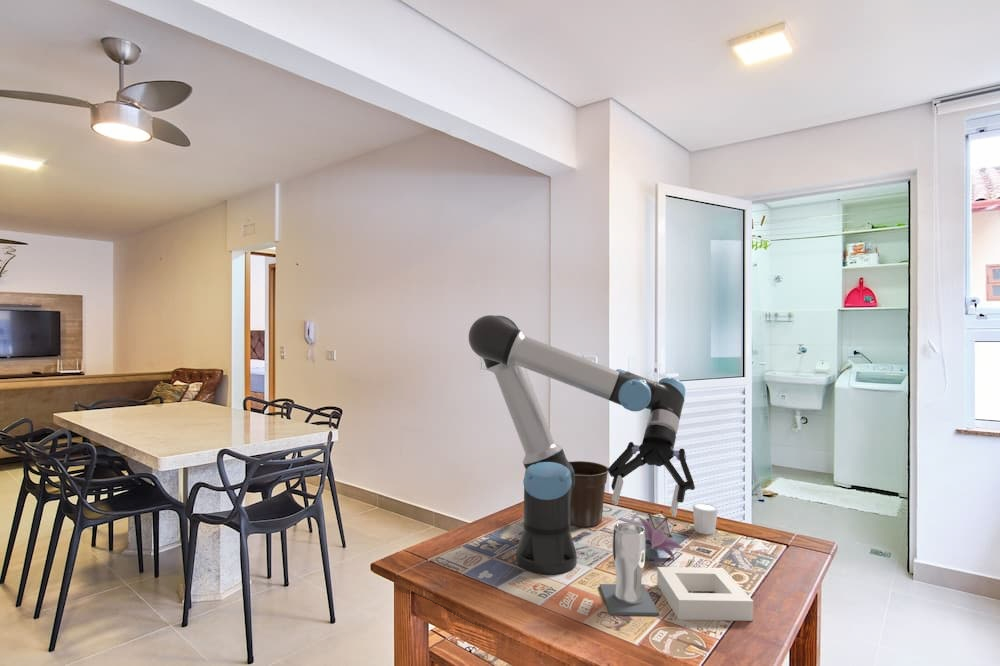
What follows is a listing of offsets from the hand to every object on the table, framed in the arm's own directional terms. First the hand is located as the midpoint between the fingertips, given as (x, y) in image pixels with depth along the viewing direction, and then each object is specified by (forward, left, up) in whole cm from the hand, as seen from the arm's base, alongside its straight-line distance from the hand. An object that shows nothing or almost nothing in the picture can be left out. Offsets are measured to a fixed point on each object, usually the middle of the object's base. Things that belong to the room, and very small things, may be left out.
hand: (642, 508), depth 124 cm
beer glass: (-5, -8, -17) cm, 19 cm away
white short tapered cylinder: (+27, +33, -18) cm, 46 cm away
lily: (+8, +14, -18) cm, 24 cm away
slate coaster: (-5, -8, -17) cm, 20 cm away
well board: (+11, -8, -17) cm, 22 cm away
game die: (+11, +24, -18) cm, 32 cm away
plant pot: (-8, +40, -18) cm, 45 cm away
